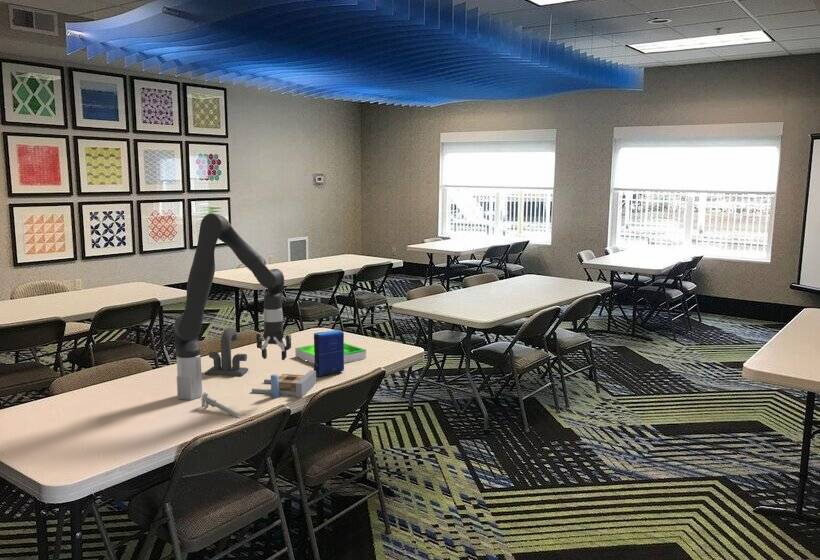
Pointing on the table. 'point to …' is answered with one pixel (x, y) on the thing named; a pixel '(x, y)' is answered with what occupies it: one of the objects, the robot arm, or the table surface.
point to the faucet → (227, 357)
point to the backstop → (301, 386)
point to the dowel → (274, 386)
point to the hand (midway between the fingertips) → (274, 358)
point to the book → (329, 352)
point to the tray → (349, 353)
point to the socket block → (288, 381)
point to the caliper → (216, 405)
